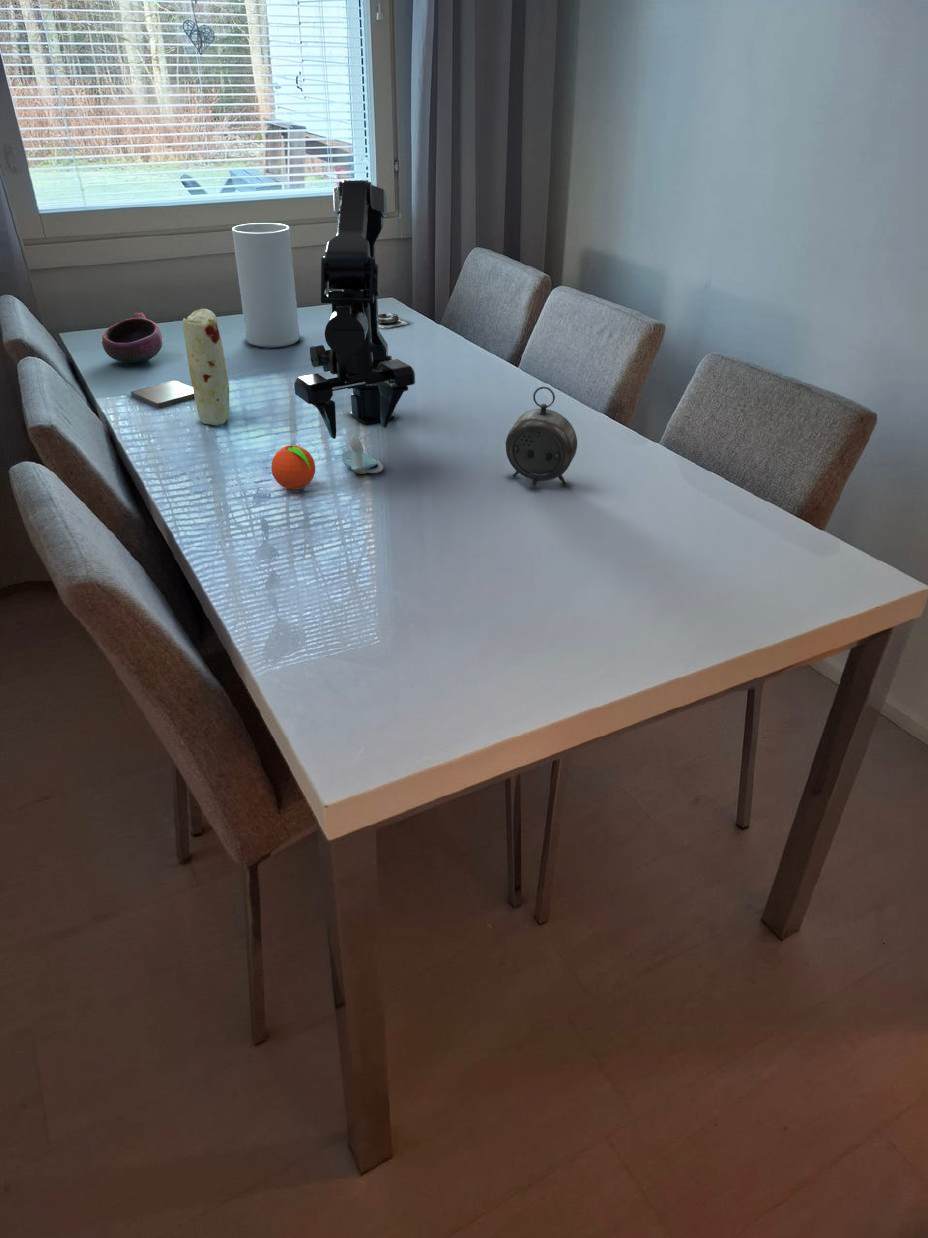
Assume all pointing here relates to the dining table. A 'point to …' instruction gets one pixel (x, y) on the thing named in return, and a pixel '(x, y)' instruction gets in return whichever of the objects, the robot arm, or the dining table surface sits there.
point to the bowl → (133, 340)
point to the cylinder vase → (266, 284)
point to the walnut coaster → (164, 394)
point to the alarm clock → (541, 444)
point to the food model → (207, 366)
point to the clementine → (293, 467)
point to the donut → (389, 320)
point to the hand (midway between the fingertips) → (358, 432)
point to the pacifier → (360, 458)
